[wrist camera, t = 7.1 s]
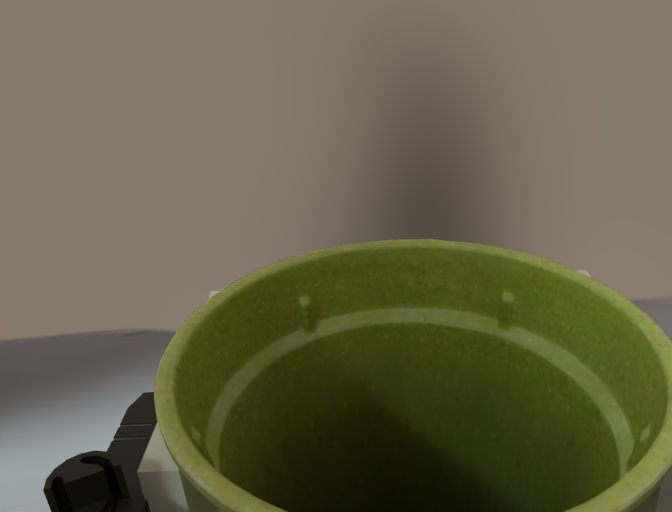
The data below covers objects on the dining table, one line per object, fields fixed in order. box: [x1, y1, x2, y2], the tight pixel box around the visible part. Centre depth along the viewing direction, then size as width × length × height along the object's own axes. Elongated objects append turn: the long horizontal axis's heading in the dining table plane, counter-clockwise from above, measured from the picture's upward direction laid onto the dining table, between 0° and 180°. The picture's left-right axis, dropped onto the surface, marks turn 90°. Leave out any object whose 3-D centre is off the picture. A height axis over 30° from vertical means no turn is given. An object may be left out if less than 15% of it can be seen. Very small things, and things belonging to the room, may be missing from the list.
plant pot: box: [154, 239, 672, 512], centre depth 14 cm, size 9×9×9 cm
